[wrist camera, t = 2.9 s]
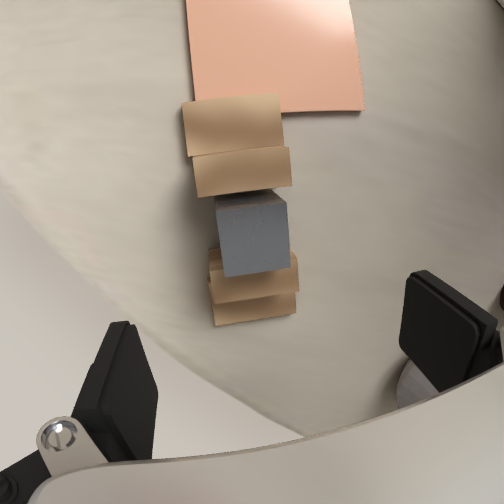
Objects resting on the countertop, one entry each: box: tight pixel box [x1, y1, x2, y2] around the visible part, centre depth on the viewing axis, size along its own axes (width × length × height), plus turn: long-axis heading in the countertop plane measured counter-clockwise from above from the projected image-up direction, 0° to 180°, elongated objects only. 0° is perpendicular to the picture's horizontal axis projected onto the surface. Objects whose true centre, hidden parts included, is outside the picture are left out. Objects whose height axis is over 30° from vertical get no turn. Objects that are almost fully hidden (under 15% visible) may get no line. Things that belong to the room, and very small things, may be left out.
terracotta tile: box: [186, 0, 365, 113], centre depth 20 cm, size 13×13×1 cm
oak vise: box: [182, 93, 299, 326], centre depth 23 cm, size 18×7×4 cm, turn 6°
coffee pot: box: [396, 359, 439, 409], centre depth 26 cm, size 21×12×15 cm, turn 50°
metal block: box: [214, 188, 291, 277], centre depth 22 cm, size 4×4×7 cm
